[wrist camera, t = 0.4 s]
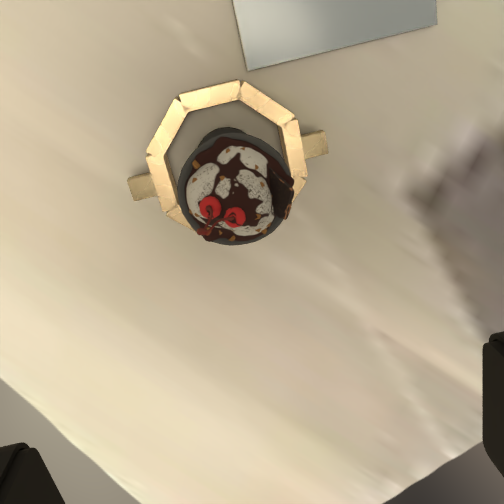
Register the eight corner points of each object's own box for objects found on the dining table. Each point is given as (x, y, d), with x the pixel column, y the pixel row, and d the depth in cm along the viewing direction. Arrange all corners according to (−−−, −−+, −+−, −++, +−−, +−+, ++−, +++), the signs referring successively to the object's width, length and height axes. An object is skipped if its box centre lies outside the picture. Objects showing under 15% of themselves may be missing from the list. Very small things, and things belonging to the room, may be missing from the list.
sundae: (167, 170, 35) (144, 236, 22) (217, 97, 34) (226, 118, 20) (235, 216, 37) (254, 304, 24) (286, 150, 36) (337, 202, 22)
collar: (306, 62, 33) (313, 62, 31) (329, 204, 38) (337, 213, 35) (110, 110, 33) (104, 113, 31) (156, 247, 38) (153, 258, 35)
